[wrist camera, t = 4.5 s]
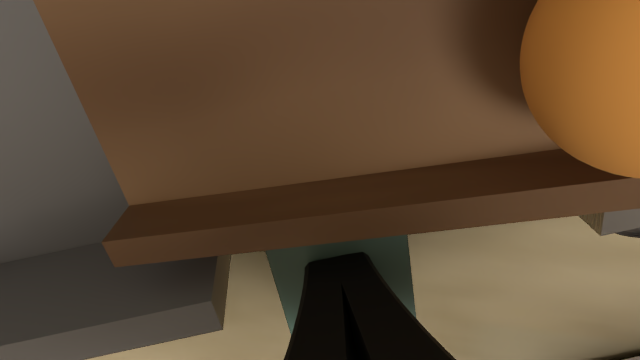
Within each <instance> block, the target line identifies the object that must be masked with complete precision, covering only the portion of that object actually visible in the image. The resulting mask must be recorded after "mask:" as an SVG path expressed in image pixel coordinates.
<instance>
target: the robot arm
mask: <svg viewBox="0 0 640 360" xmlns="http://www.w3.org/2000/svg"><path fill="white" fill-rule="evenodd" d="M284 360H456V359H455V358H454V357H453V356H452V355H451V354H450V353H449V352H448V351H446V350H445V348H444V347H443V346H442V345H441V344H440V343H439V342H438V341H437V340H436V339H435V338H434V337H433V336H432V335H431V334H430V333H429V332H428V331H427V330H426V329H425V328H424V327H423V326H422V325H421V324H420V322H419V321H418V320H417V319H416V318H415V317H414V316H413V314H412V313H411V312H410V311H409V310H408V309H407V308H406V306H405V305H404V304H403V303H402V302H401V301H400V299H399V298H398V297H397V296H396V294H395V293H394V292H393V291H392V289H391V288H390V287H389V285H388V284H387V283H386V281H385V280H384V279H383V277H382V276H381V275H380V273H379V272H378V270H377V269H376V267H375V266H374V264H373V262H372V261H371V259H370V257H369V255H367V254H366V253H364V252H358V253H351V254H345V255H340V256H336V257H331V258H327V259H322V260H317V261H313V262H309V263H308V264H307V265H306V266H305V272H304V282H303V289H302V295H301V299H300V304H299V309H298V313H297V317H296V320H295V324H294V328H293V332H292V335H291V339H290V342H289V346H288V349H287V352H286V355H285V358H284ZM623 360H640V356H637V357H632V358H628V359H623Z"/></svg>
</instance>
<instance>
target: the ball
mask: <svg viewBox="0 0 640 360" xmlns="http://www.w3.org/2000/svg"><path fill="white" fill-rule="evenodd" d="M520 76H521V84H522V89H523V93H524V96H525V99H526V101H527V104H528V107H529V109H530V111H531V113H532V115H533V116H534V118H535V120H536V122H537V123H538V124H539V126H540V127H541V129H542V130H543V131H544V132H545V133H546V134H547V136H548V137H549V138H550V139H551V140H552V141H554V142H555V143H556V144H557V145H558V146H559V147H560V148H562V149H563V150H564V151H565V152H567V153H568V154H570V155H571V156H573V157H574V158H576V159H578V160H580V161H582V162H584V163H586V164H588V165H590V166H592V167H595V168H597V169H600V170H603V171H606V172H609V173H612V174H616V175H621V176H626V177H631V178H640V0H538V1H537V3H536V5H535V7H534V9H533V11H532V13H531V15H530V17H529V19H528V22H527V25H526V28H525V31H524V35H523V39H522V44H521V51H520Z"/></svg>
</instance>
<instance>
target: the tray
mask: <svg viewBox="0 0 640 360" xmlns="http://www.w3.org/2000/svg"><path fill="white" fill-rule="evenodd" d="M128 207H129V204H128V202H127V200H126V198H125V196H124V194H123V191H122V189H121V187H120V185H119V183H118V181H117V179H116V176H115V174H114V172H113V170H112V168H111V166H110V164H109V162H108V159H107V157H106V155H105V153H104V151H103V149H102V147H101V144H100V142H99V140H98V138H97V136H96V134H95V132H94V130H93V127H92V125H91V123H90V121H89V119H88V117H87V115H86V112H85V110H84V108H83V106H82V104H81V102H80V100H79V97H78V95H77V93H76V91H75V89H74V87H73V85H72V83H71V80H70V78H69V76H68V74H67V72H66V70H65V68H64V65H63V63H62V61H61V59H60V57H59V55H58V53H57V51H56V48H55V46H54V44H53V42H52V40H51V38H50V36H49V33H48V31H47V29H46V27H45V25H44V23H43V21H42V18H41V16H40V14H39V12H38V10H37V8H36V6H35V4H34V1H33V0H0V360H84V359H89V358H94V357H98V356H103V355H108V354H112V353H117V352H121V351H126V350H131V349H135V348H140V347H145V346H149V345H154V344H159V343H163V342H168V341H173V340H177V339H182V338H187V337H191V336H196V335H201V334H205V333H210V332H214V331H219V330H223V324H224V315H225V305H226V296H227V287H228V278H229V269H230V259H231V254H230V255H221V256H212V257H203V258H194V259H185V260H176V261H167V262H158V263H149V264H140V265H132V266H123V267H114V265H113V263H112V261H111V260H110V258H109V256H108V254H107V252H106V250H105V248H104V246H103V245H102V243H101V242H102V241H103V239H104V238H105V237H106V235H107V234H108V233H109V231H110V230H111V229H112V227H113V226H114V225H115V224H116V222H117V221H118V220H119V218H120V217H121V216H122V214H123V213H124V212H125V210H126V209H127V208H128Z"/></svg>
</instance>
